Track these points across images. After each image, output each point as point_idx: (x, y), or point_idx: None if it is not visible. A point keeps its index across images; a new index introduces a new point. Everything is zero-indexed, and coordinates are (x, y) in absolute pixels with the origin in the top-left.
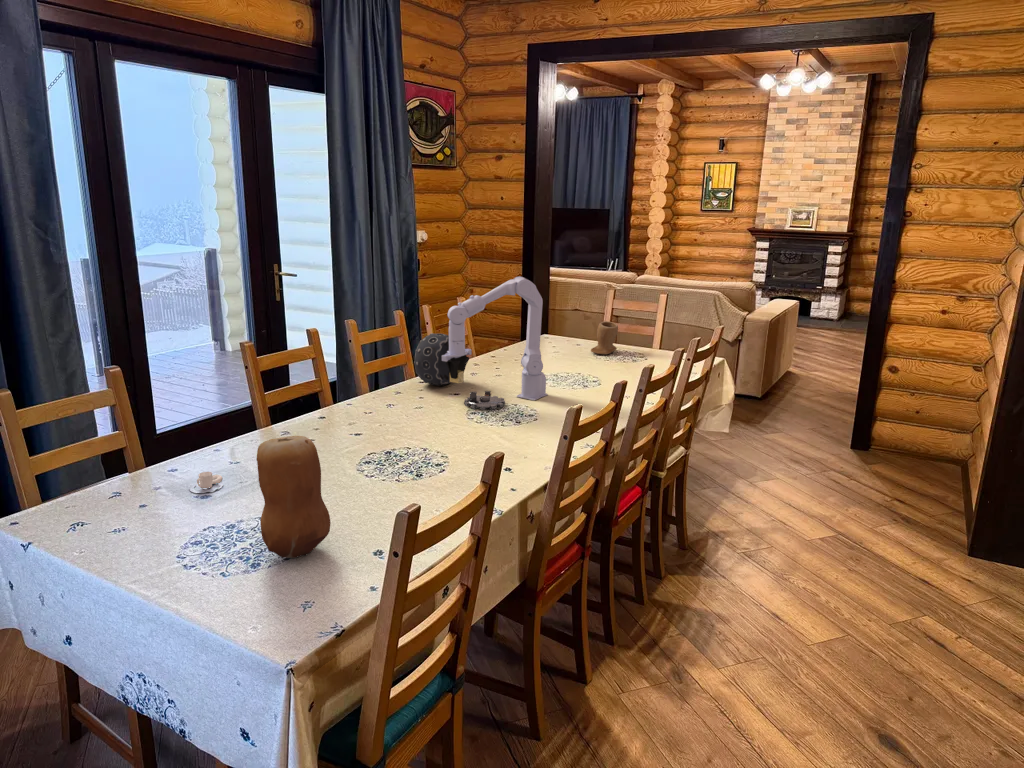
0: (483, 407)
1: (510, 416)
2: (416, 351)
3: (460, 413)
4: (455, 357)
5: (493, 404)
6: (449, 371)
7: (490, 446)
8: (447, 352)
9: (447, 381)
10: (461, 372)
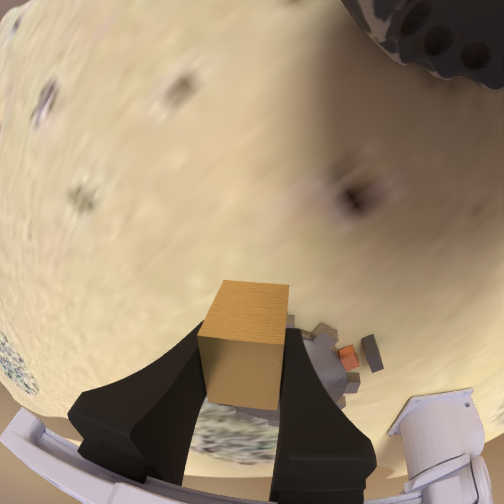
0: None
1: (229, 438)
2: None
3: (147, 351)
4: (170, 495)
5: (255, 414)
6: (172, 348)
7: None
8: (113, 496)
9: (456, 74)
10: (249, 402)
